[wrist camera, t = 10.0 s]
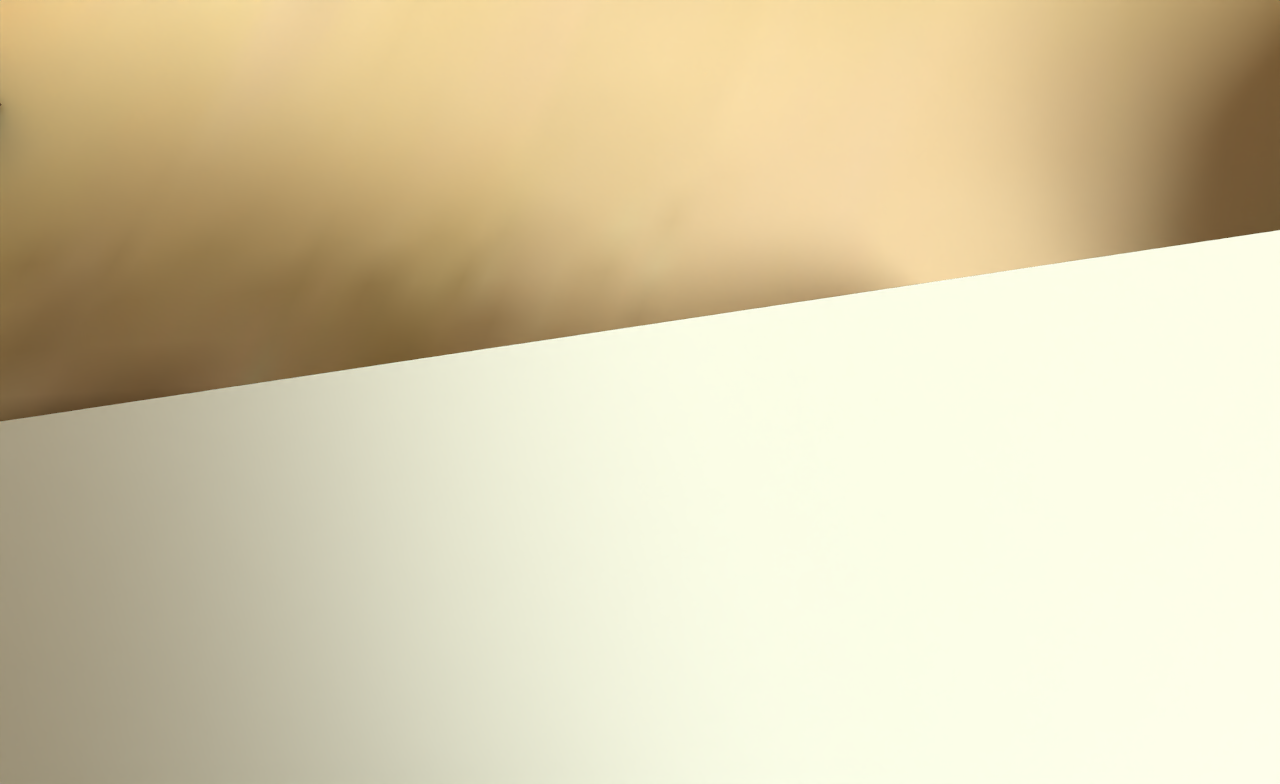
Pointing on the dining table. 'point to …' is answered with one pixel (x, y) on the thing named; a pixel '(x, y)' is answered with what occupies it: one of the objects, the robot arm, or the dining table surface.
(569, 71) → the dining table surface
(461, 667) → the tea box
